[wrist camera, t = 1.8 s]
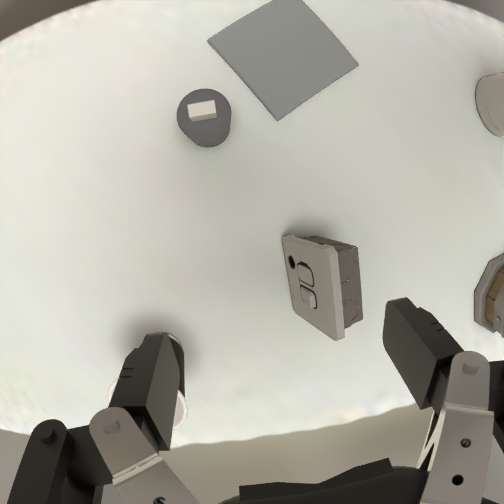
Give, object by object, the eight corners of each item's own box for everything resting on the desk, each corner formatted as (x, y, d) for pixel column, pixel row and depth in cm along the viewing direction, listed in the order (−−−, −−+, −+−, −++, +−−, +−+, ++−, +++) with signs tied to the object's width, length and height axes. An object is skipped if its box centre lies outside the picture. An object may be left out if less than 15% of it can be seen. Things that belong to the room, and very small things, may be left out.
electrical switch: (280, 234, 36) (308, 254, 27) (323, 224, 36) (363, 240, 27) (292, 311, 38) (320, 349, 29) (332, 299, 39) (369, 333, 30)
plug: (226, 103, 32) (227, 76, 21) (232, 143, 33) (236, 132, 23) (185, 111, 31) (168, 87, 21) (191, 150, 32) (176, 142, 22)
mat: (290, -8, 28) (292, -10, 28) (357, 66, 31) (359, 64, 31) (207, 41, 29) (207, 39, 29) (277, 121, 32) (278, 120, 32)
